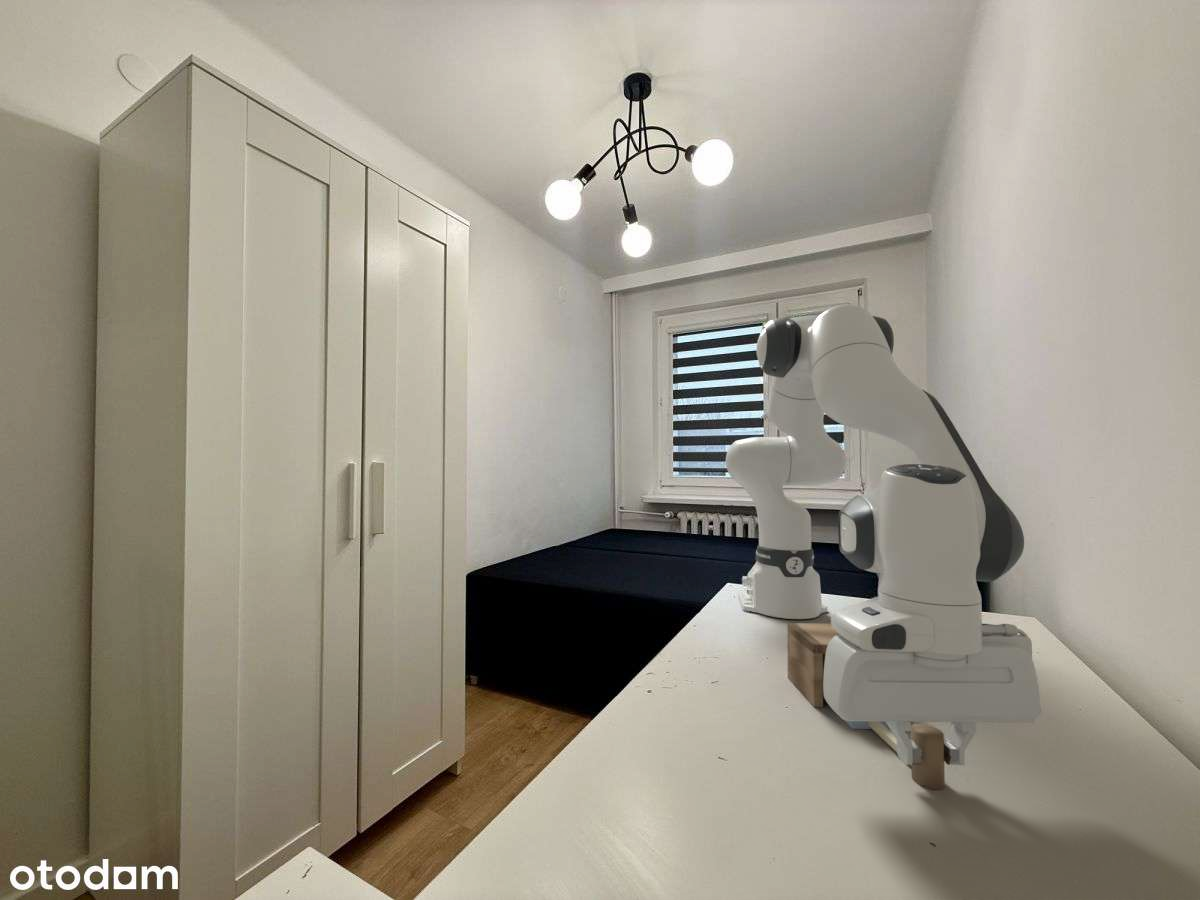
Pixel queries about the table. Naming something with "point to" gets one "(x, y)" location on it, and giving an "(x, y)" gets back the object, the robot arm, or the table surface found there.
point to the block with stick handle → (923, 736)
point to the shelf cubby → (808, 658)
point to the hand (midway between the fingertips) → (930, 761)
